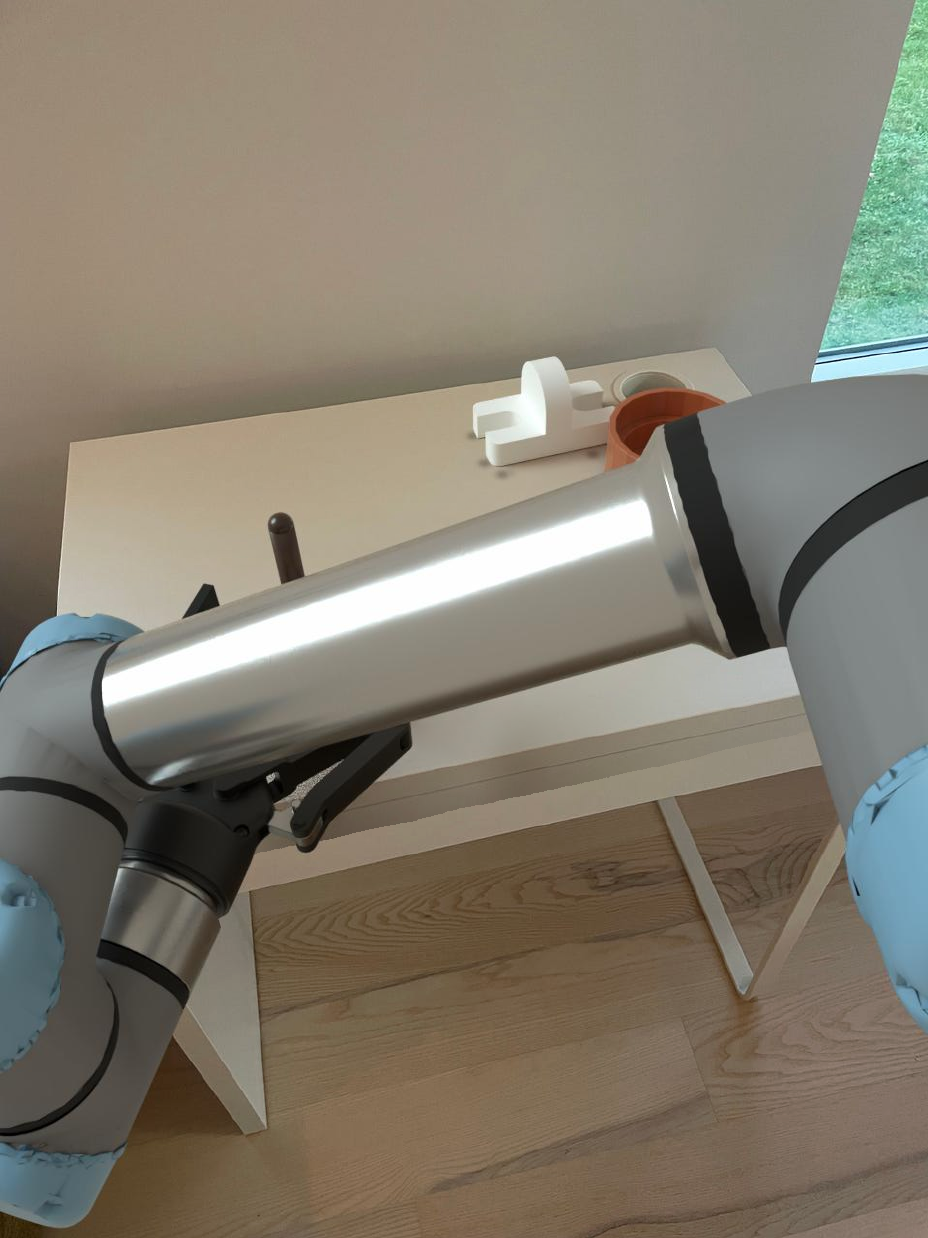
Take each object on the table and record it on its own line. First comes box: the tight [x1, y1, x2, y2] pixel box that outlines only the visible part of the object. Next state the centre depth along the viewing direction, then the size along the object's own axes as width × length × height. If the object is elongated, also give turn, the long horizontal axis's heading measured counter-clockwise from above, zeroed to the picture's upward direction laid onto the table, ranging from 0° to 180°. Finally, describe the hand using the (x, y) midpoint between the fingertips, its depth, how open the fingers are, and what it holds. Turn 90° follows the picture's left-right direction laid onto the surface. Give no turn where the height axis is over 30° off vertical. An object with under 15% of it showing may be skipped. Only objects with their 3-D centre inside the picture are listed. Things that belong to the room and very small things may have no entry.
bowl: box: [603, 387, 727, 473], centre depth 88 cm, size 12×12×6 cm
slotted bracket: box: [472, 355, 616, 467], centre depth 92 cm, size 13×7×8 cm, turn 107°
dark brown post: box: [267, 511, 306, 585], centre depth 66 cm, size 5×5×19 cm
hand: (303, 614), depth 66 cm, fingers open, 13 cm apart
